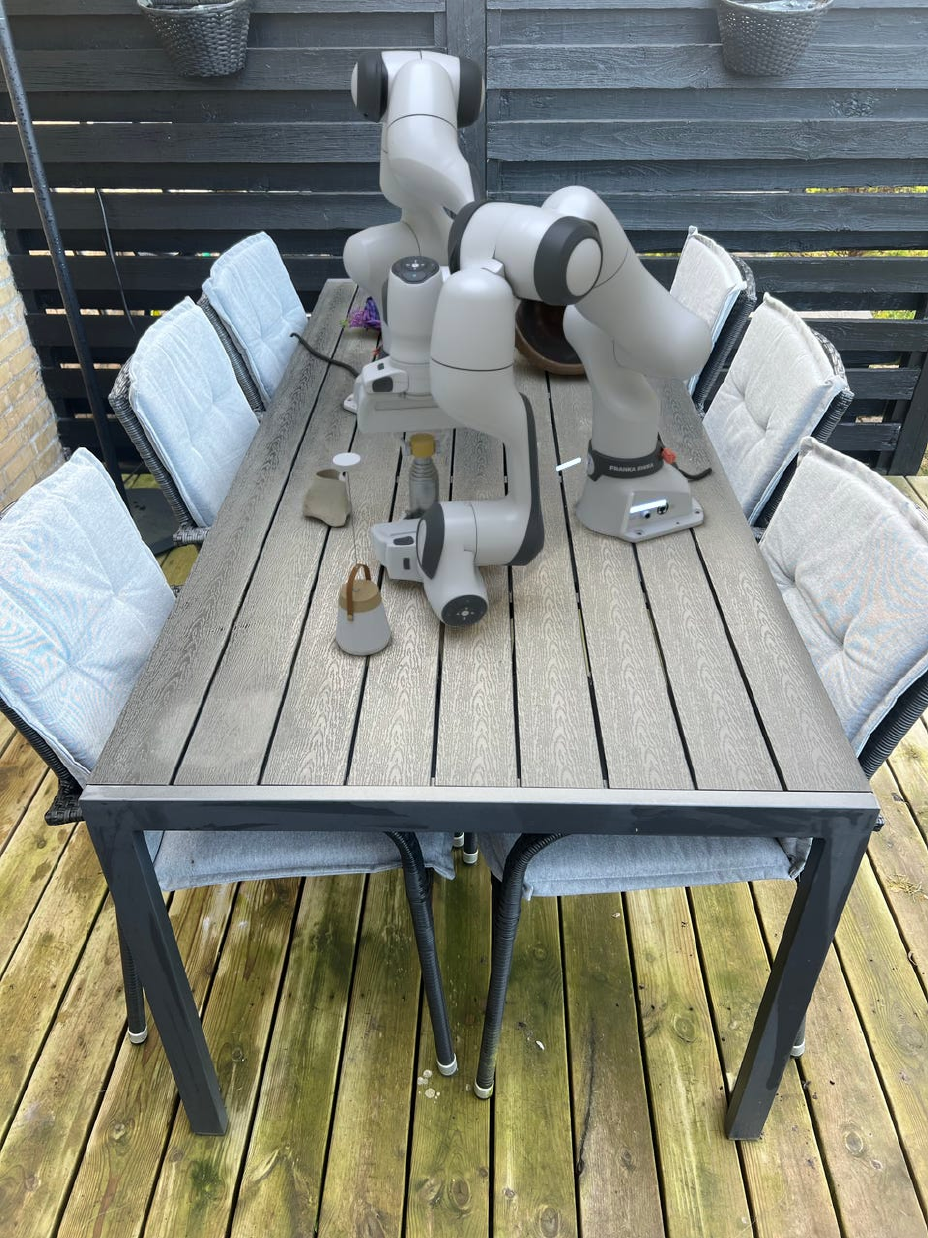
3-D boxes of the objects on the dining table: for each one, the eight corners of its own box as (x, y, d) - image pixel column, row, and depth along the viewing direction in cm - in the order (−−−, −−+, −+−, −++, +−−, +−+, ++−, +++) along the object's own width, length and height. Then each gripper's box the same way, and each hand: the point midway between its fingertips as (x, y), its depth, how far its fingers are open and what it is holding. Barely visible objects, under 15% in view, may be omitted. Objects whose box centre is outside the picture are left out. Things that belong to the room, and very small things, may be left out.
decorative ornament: (459, 312, 230) (337, 314, 227) (457, 347, 238) (340, 349, 236) (454, 280, 238) (336, 281, 235) (453, 315, 246) (339, 317, 244)
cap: (428, 444, 152) (428, 430, 151) (439, 454, 149) (439, 440, 148) (406, 449, 151) (405, 436, 149) (416, 460, 148) (416, 446, 146)
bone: (352, 523, 169) (358, 468, 167) (345, 530, 162) (351, 474, 159) (303, 516, 169) (308, 461, 167) (294, 523, 162) (299, 466, 159)
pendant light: (377, 661, 135) (361, 478, 117) (326, 649, 137) (303, 468, 119) (399, 628, 141) (388, 450, 123) (351, 617, 143) (332, 440, 125)
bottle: (446, 539, 161) (444, 441, 150) (429, 553, 158) (425, 453, 146) (423, 531, 163) (419, 433, 152) (405, 543, 160) (400, 445, 149)
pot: (527, 218, 229) (547, 194, 200) (639, 277, 234) (675, 262, 205) (471, 342, 235) (483, 336, 206) (582, 397, 240) (609, 398, 211)
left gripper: (483, 359, 145) (483, 439, 154) (352, 367, 143) (359, 448, 152) (489, 375, 140) (489, 457, 149) (354, 383, 138) (361, 466, 147)
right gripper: (505, 529, 147) (483, 487, 158) (377, 546, 143) (363, 502, 154) (504, 562, 151) (482, 519, 162) (380, 580, 147) (366, 534, 158)
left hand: (422, 453), depth 150 cm, fingers closed on cap, 4 cm apart
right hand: (423, 511), depth 158 cm, fingers closed on bottle, 5 cm apart
